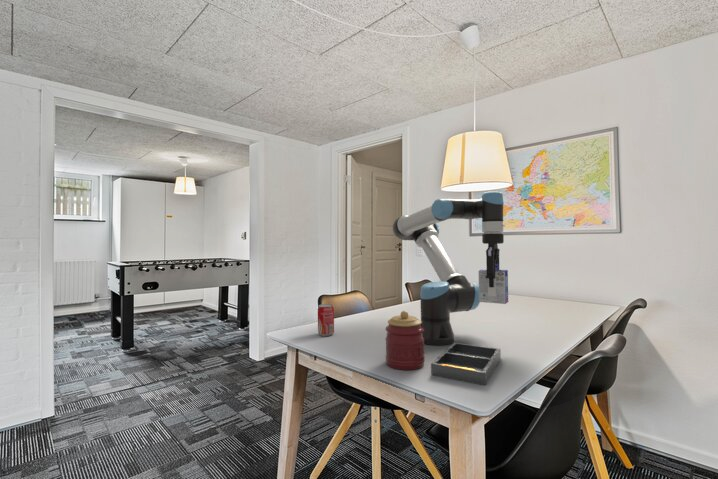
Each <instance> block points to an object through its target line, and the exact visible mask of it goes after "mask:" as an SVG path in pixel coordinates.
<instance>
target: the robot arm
mask: <svg viewBox="0 0 718 479" xmlns="http://www.w3.org/2000/svg"><path fill="white" fill-rule="evenodd" d="M503 195H504V194H503V193H502V192H501V191H486V192H483V193H482V194H481V198H479V199H453V198H438V199H435V200H434V201H433V203H432V204H431V205H429V206H428V207H426V208H423V209H421V210H419V211H415V212H413V213H412V214H409V215H405V214H404V215H402V216H399V217H398V218H395V220H393V221H394V222H393V223H392V232H393V234H394V235H395V237H396V238H397V239H399V240H402V241H414V242H415V244H416V245H417V247H419V248H422V250H423V252H424V254H425V255H426V257H427V259H428V261H429V262H430V264H431V266H432V267H433V270H434V272H435V273H436V275H437V276H438V278H439V280H438V281H430V282H427V283H424V284H423V285H421V287H420V292H419V293H420V294H419V298H420V320H421V322H422V323H421V324H420V325H421V326H422V327H423V328H424V331H423V337H424V345H430V346H431V345H432V346H446V345H452V344H453V343H455V338H456V337H455V333H454V330H453V327H452V323H451V318H450V316H451V314H452V313H458V312H460V313H461V312H469V311H473V310H476V309H477V308H478V307H479V305H480V303H481V302H479V285H478V284H476V283H475V282H472V281H471V282H469V280H468V278H467V277H466V276H465V275H463V274H460V273H459V271H458V269H457V268H456V266H455V265H454V263H453V261H452V260H451V258H450V256H449V255H448V253H447V251H446V250H445V248H444V247H443V245H442V243H441V242H440V240H439V234H440V229H439V223H441V222H443V221H444V222H445V221H447V220H451V219H453V220H454V219H455V220H457V219H458V220H459V219H460V220H461V219H463V220H475V219H476V220H477V219H481V220H482V221H481V231H482V233H483V234H482V235H481V236H482V239H481V241H482V242H481V243H482V244H483V245H486V244H487V248H486V250H485V255H486V256H485V257H486V259H485V260H486V270H487V275H486V276H485V278H488V296H496V278H495V267H497V266H495V264H499V265H500V248H498V247H499V246H498V244H504V243H505V241H504V234H503V232H504V227H505V226H506V224H505V223H504V196H503ZM498 268H499V269H500V266H499V267H498Z"/></svg>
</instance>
